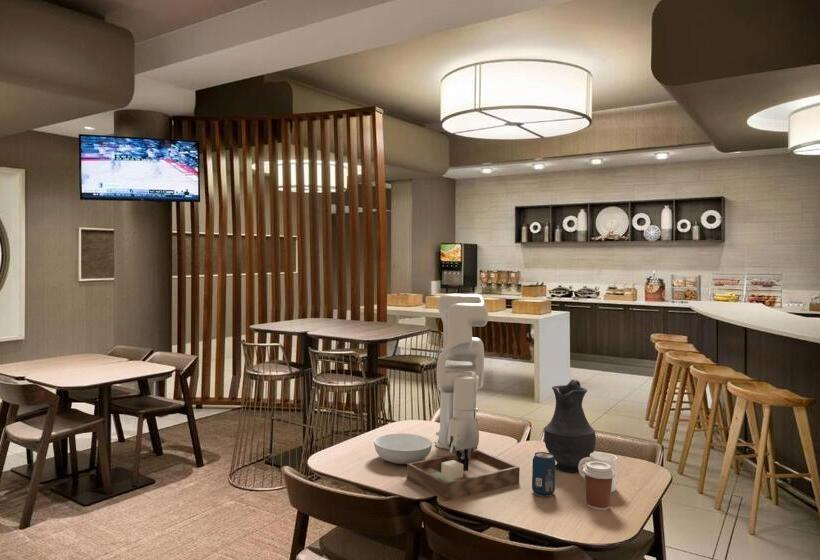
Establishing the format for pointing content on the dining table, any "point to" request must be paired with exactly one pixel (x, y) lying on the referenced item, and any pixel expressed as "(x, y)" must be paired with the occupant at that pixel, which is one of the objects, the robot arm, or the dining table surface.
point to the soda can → (543, 474)
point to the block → (452, 469)
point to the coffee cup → (598, 484)
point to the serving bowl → (402, 447)
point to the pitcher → (569, 429)
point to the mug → (603, 458)
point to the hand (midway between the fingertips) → (463, 469)
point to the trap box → (478, 478)
